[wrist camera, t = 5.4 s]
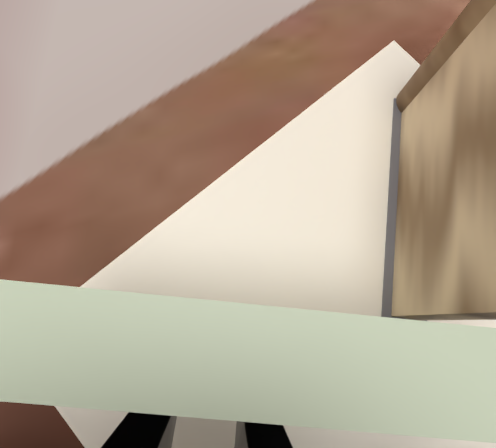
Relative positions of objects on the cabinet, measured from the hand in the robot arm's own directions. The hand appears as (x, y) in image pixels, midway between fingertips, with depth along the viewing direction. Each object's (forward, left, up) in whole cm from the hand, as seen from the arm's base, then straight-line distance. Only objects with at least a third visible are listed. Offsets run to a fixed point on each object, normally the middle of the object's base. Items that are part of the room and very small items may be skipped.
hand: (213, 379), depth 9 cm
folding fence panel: (0, -2, -6) cm, 6 cm away
